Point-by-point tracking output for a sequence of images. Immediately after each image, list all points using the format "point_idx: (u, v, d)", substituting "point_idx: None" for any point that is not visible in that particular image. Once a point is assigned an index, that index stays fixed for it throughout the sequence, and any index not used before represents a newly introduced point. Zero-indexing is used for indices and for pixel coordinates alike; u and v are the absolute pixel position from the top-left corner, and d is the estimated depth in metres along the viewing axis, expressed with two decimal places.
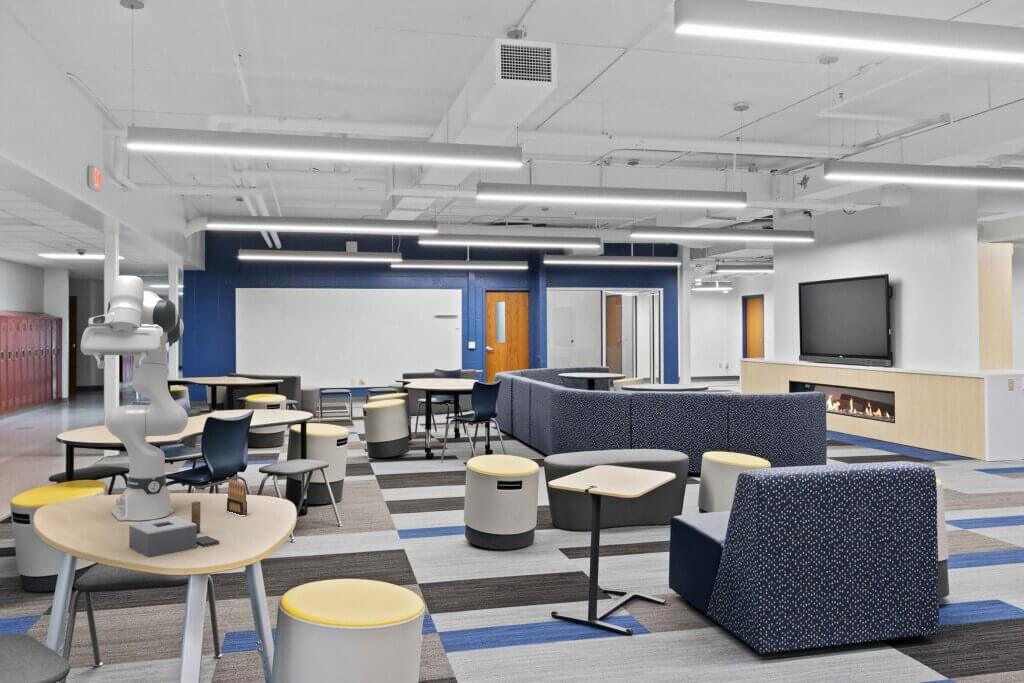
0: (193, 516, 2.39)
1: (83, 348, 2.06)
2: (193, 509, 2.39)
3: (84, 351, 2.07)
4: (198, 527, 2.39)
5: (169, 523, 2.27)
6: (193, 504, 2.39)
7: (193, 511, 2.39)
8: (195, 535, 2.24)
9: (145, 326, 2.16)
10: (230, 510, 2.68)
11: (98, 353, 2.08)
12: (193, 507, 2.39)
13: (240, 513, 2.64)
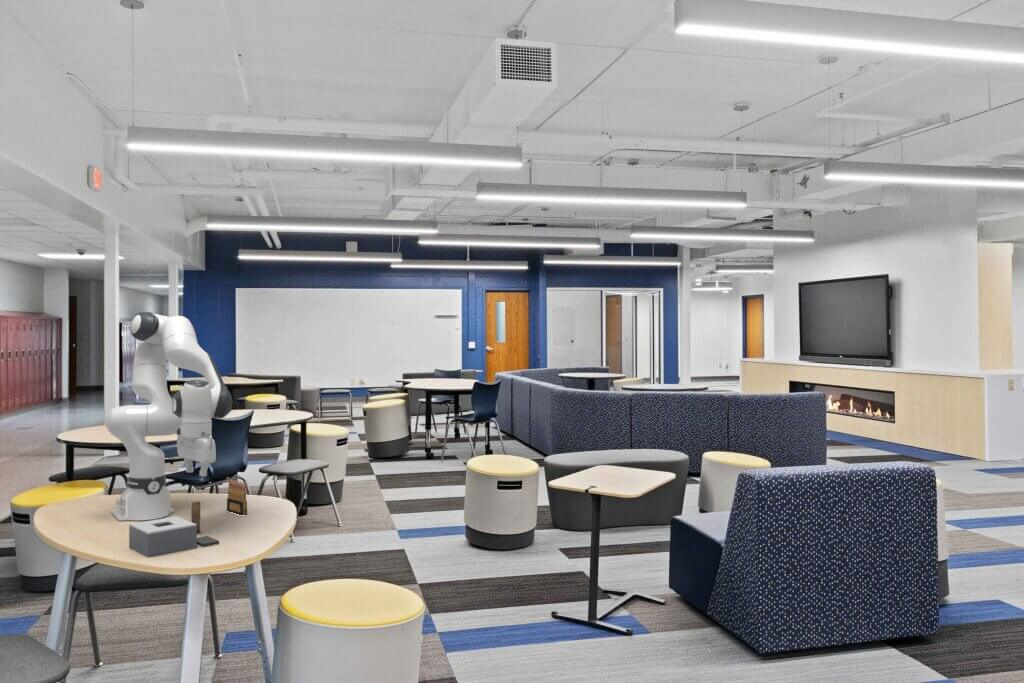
0: (193, 516, 2.39)
1: None
2: (193, 509, 2.39)
3: None
4: (198, 527, 2.39)
5: (169, 523, 2.27)
6: (193, 504, 2.39)
7: (193, 511, 2.39)
8: (195, 535, 2.24)
9: (203, 435, 2.36)
10: (230, 510, 2.68)
11: (185, 460, 2.43)
12: (193, 507, 2.39)
13: (240, 513, 2.64)
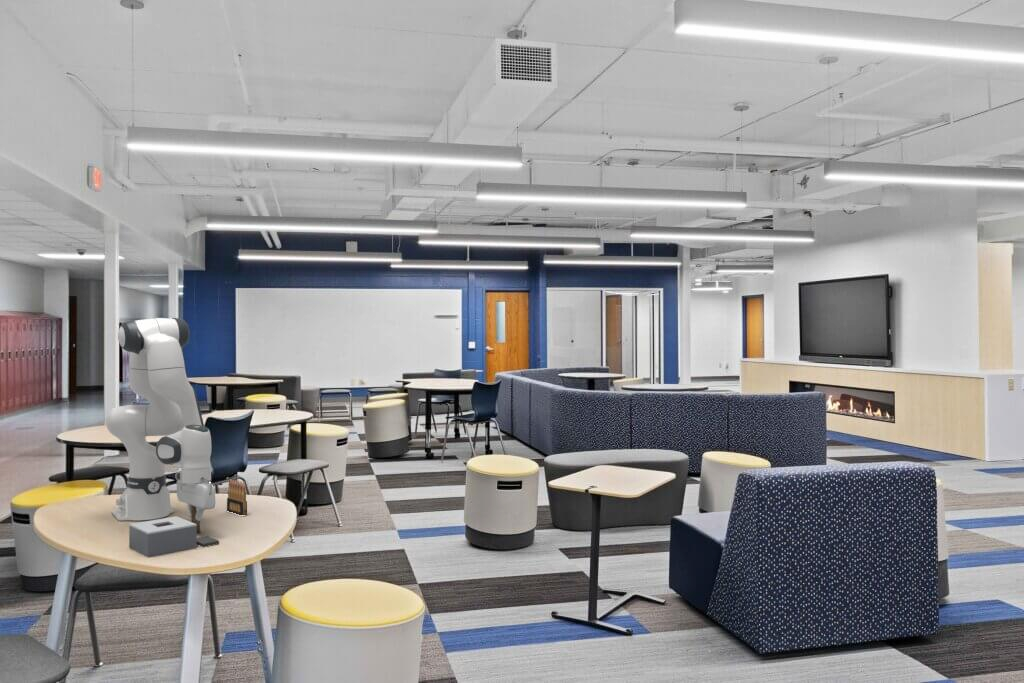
0: (193, 516, 2.39)
1: (178, 499, 2.45)
2: (193, 509, 2.39)
3: None
4: (198, 527, 2.39)
5: (169, 523, 2.27)
6: None
7: (193, 511, 2.39)
8: (195, 535, 2.24)
9: (202, 481, 2.36)
10: (230, 510, 2.68)
11: (189, 506, 2.41)
12: (193, 507, 2.39)
13: (240, 513, 2.64)
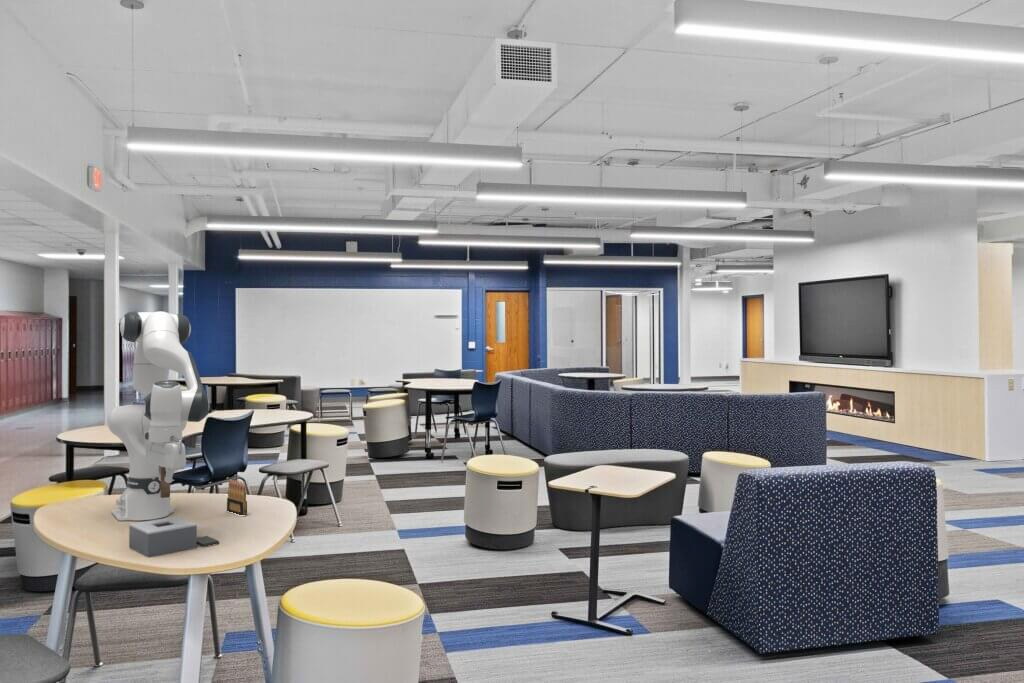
0: (162, 478, 2.23)
1: (147, 461, 2.29)
2: (162, 470, 2.23)
3: None
4: (168, 490, 2.23)
5: (169, 523, 2.27)
6: None
7: (162, 473, 2.23)
8: (195, 535, 2.24)
9: (172, 439, 2.20)
10: (230, 510, 2.68)
11: (158, 467, 2.25)
12: (162, 468, 2.23)
13: (240, 513, 2.64)
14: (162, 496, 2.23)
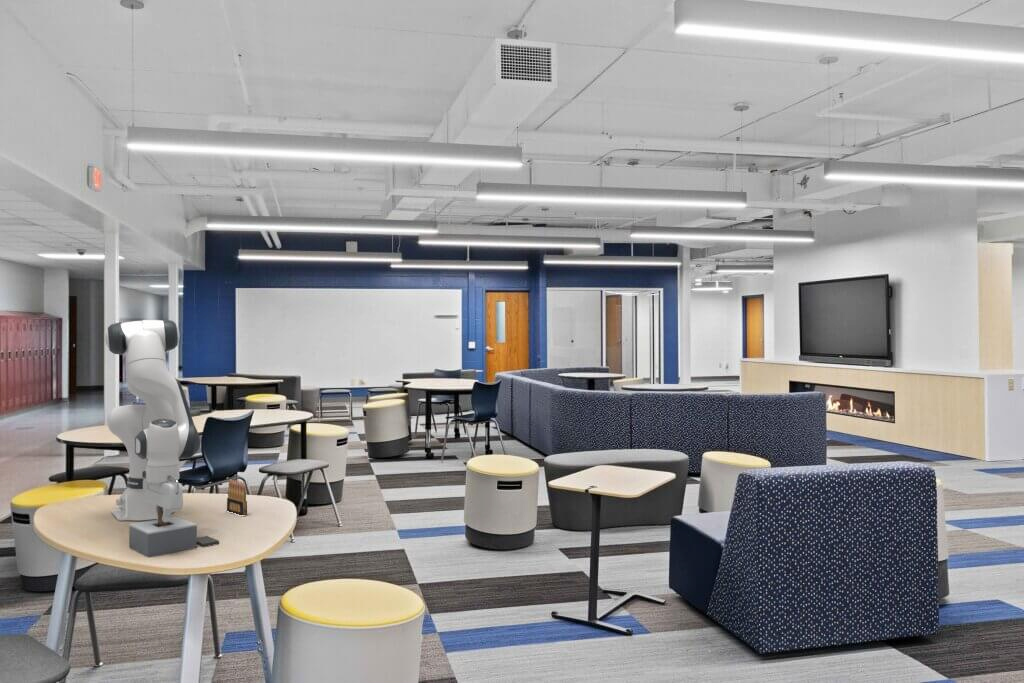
0: (159, 517, 2.22)
1: (144, 499, 2.29)
2: (159, 510, 2.22)
3: None
4: None
5: (169, 523, 2.27)
6: None
7: (159, 512, 2.22)
8: (195, 535, 2.24)
9: (169, 479, 2.19)
10: (230, 510, 2.68)
11: (155, 506, 2.25)
12: (160, 508, 2.22)
13: (240, 513, 2.64)
14: None
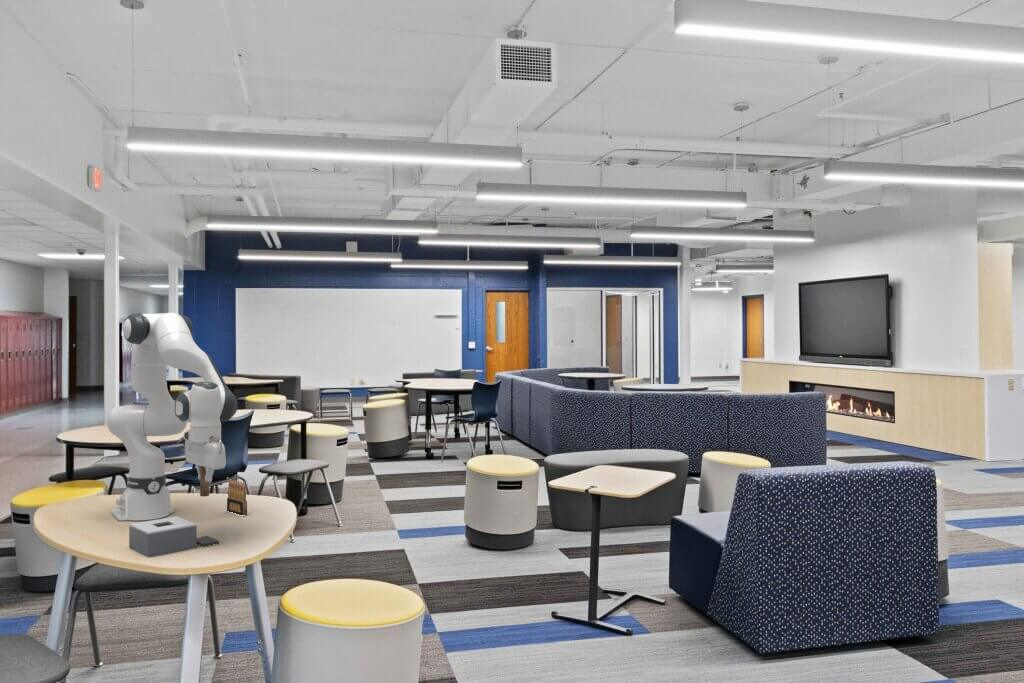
0: (202, 477, 2.28)
1: (186, 460, 2.34)
2: (202, 470, 2.28)
3: None
4: (207, 489, 2.28)
5: (169, 523, 2.27)
6: None
7: (202, 472, 2.28)
8: (195, 535, 2.24)
9: (212, 439, 2.25)
10: (230, 510, 2.68)
11: (197, 467, 2.30)
12: (202, 468, 2.28)
13: (240, 513, 2.64)
14: (202, 495, 2.28)
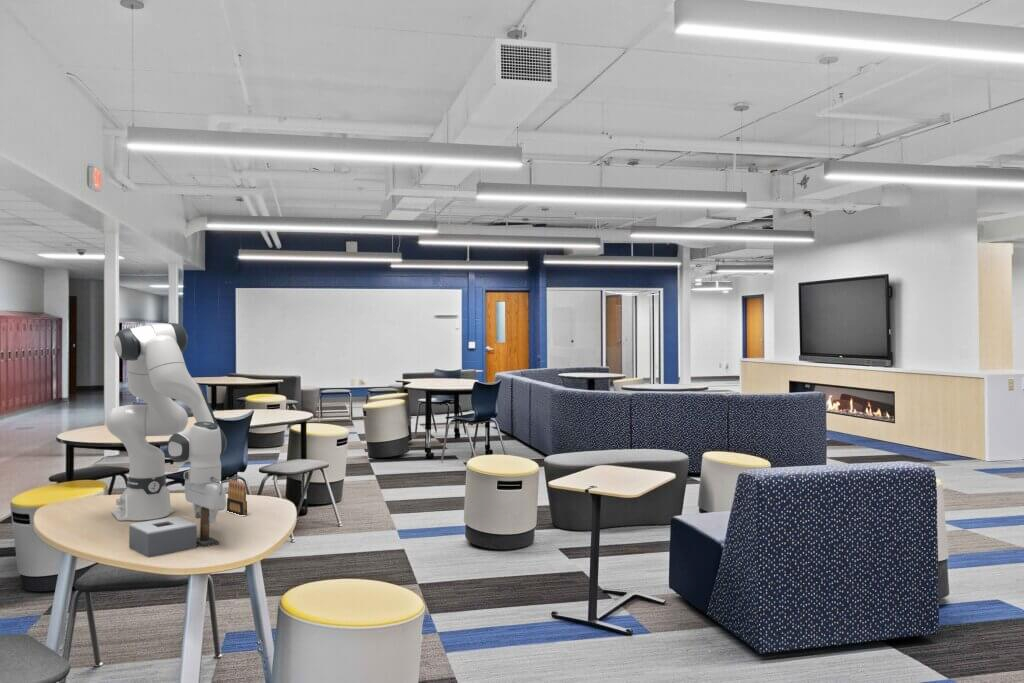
0: (202, 521, 2.28)
1: None
2: (202, 514, 2.28)
3: None
4: (207, 533, 2.28)
5: (169, 523, 2.27)
6: (202, 509, 2.28)
7: (202, 516, 2.28)
8: (195, 535, 2.24)
9: (212, 480, 2.25)
10: (230, 510, 2.68)
11: (194, 505, 2.32)
12: (202, 512, 2.28)
13: (240, 513, 2.64)
14: (202, 539, 2.28)
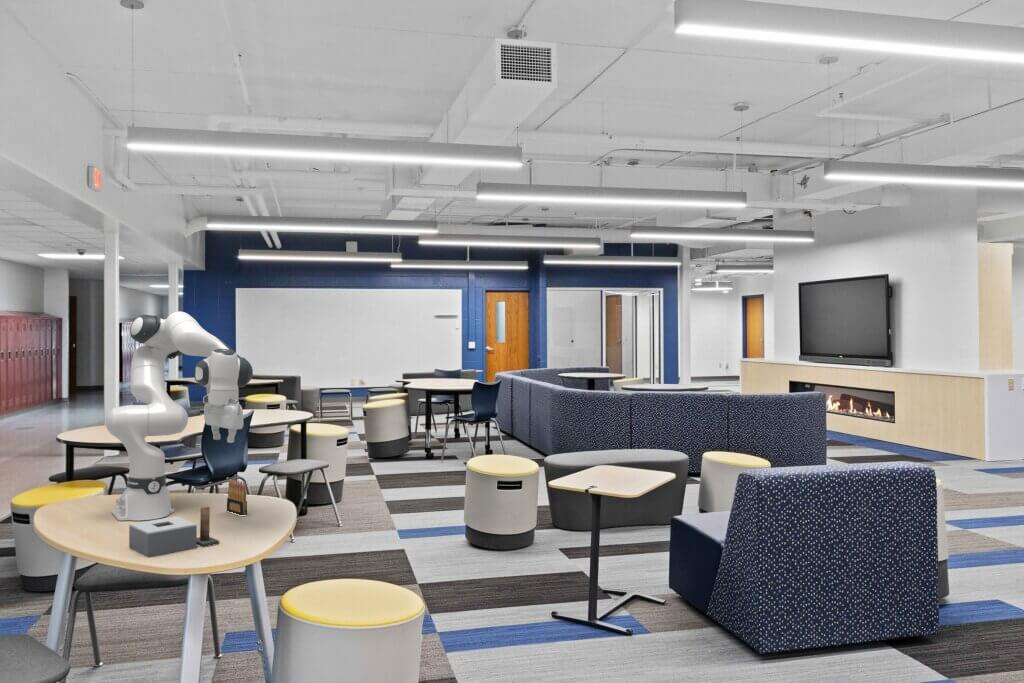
0: (202, 522, 2.28)
1: None
2: (202, 514, 2.28)
3: None
4: (207, 533, 2.28)
5: (169, 523, 2.27)
6: (202, 509, 2.28)
7: (202, 517, 2.28)
8: (195, 535, 2.24)
9: (231, 402, 2.40)
10: (230, 510, 2.68)
11: (212, 427, 2.47)
12: (202, 512, 2.28)
13: (240, 513, 2.64)
14: (202, 539, 2.28)
